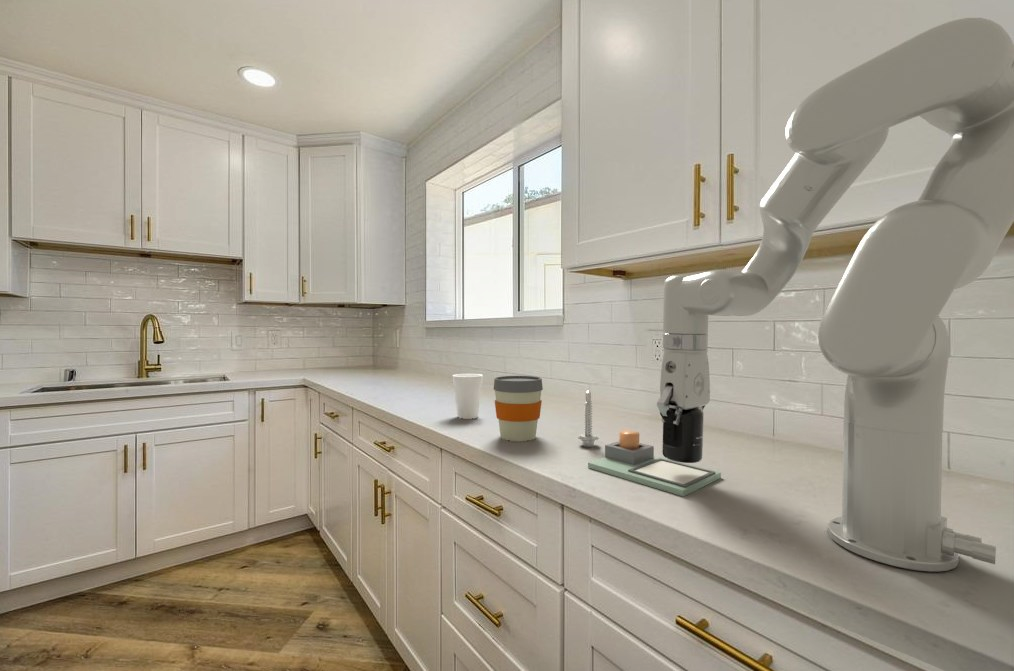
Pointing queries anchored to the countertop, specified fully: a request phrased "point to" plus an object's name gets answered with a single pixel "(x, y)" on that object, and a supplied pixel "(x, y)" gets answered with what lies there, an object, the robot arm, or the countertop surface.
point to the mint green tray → (653, 469)
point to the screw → (588, 424)
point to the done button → (629, 439)
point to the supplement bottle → (687, 438)
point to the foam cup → (467, 394)
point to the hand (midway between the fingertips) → (682, 440)
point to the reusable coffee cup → (518, 406)
